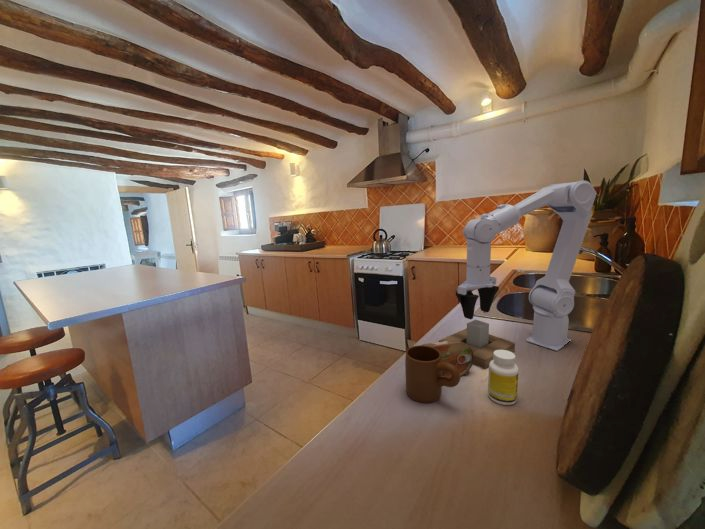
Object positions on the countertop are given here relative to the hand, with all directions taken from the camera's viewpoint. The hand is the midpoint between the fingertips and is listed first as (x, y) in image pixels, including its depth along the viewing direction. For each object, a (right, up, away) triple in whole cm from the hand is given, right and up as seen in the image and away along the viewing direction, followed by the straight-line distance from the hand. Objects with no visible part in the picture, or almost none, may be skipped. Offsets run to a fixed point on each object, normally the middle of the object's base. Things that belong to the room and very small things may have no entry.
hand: (476, 314), depth 78 cm
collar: (+1, -10, +2) cm, 10 cm away
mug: (-17, -15, -17) cm, 28 cm away
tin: (-12, -13, -9) cm, 20 cm away
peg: (+1, -10, +2) cm, 10 cm away
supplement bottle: (-2, -14, -18) cm, 23 cm away
